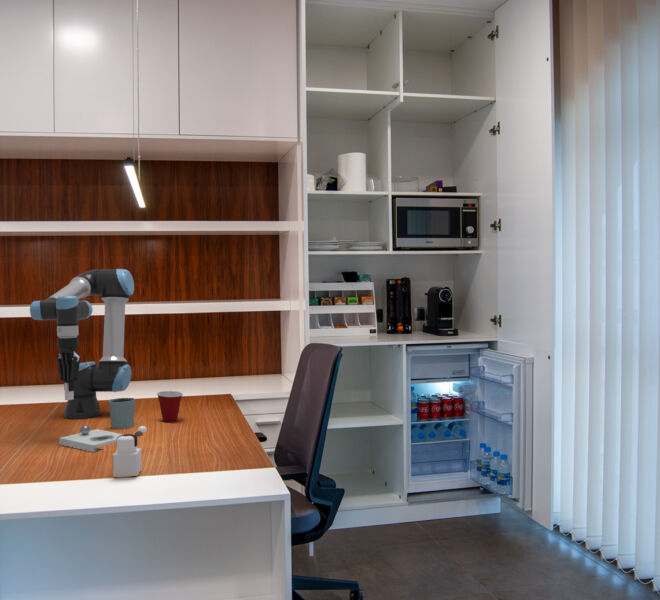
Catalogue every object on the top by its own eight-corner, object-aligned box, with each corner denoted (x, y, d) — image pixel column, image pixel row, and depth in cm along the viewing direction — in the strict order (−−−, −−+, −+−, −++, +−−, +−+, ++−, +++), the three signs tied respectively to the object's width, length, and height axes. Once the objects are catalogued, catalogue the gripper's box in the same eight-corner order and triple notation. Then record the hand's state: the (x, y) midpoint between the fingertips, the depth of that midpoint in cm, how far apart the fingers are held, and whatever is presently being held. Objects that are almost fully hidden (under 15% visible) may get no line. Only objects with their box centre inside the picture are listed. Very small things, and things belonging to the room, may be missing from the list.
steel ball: (78, 435, 243) (77, 425, 243) (86, 433, 246) (86, 423, 246) (83, 436, 241) (83, 426, 241) (92, 434, 244) (92, 425, 244)
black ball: (132, 439, 246) (132, 431, 246) (139, 437, 249) (139, 429, 249) (138, 440, 244) (137, 432, 244) (144, 438, 247) (144, 430, 247)
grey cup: (114, 433, 255) (113, 403, 255) (105, 429, 263) (104, 399, 263) (139, 430, 261) (139, 399, 261) (130, 425, 270) (129, 396, 269)
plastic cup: (177, 424, 271) (176, 395, 271) (152, 423, 273) (152, 394, 273) (188, 418, 282) (187, 390, 281) (164, 417, 284) (163, 390, 284)
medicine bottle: (118, 471, 206) (117, 433, 205) (141, 470, 206) (141, 432, 206) (112, 478, 198) (112, 438, 198) (137, 477, 199) (136, 437, 199)
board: (59, 444, 240) (59, 437, 240) (97, 435, 253) (97, 429, 253) (93, 452, 228) (93, 445, 228) (131, 442, 241) (131, 435, 241)
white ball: (135, 435, 253) (135, 426, 252) (143, 433, 255) (142, 424, 255) (141, 436, 251) (141, 427, 250) (149, 434, 253) (148, 425, 253)
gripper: (48, 337, 248) (50, 399, 249) (69, 338, 241) (70, 402, 241) (66, 335, 254) (67, 396, 255) (87, 336, 247) (88, 399, 248)
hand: (69, 399), depth 248 cm, fingers closed
